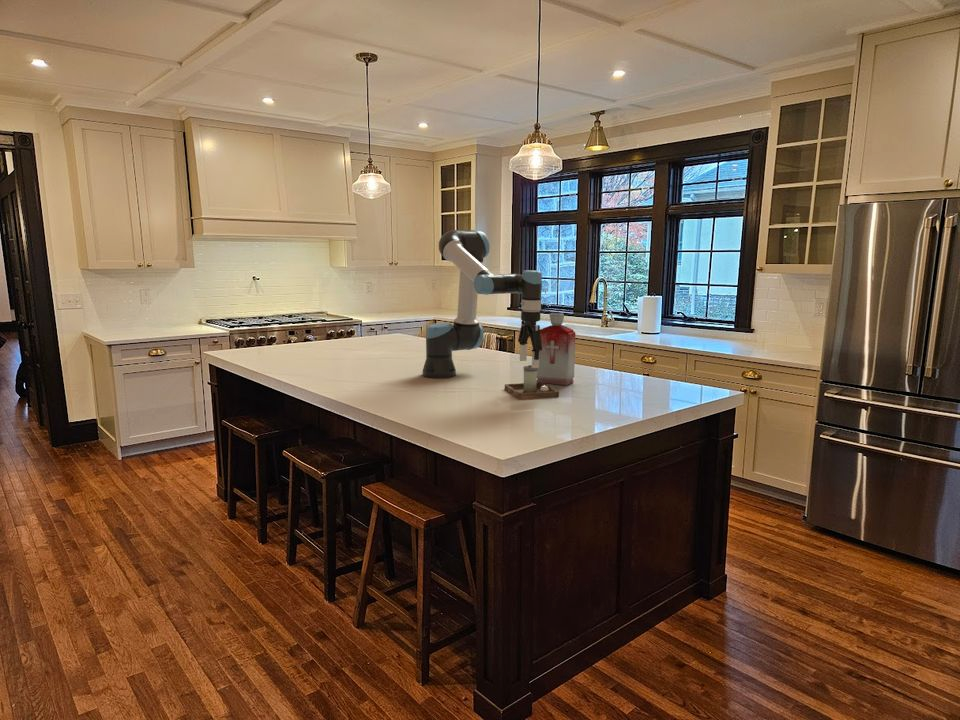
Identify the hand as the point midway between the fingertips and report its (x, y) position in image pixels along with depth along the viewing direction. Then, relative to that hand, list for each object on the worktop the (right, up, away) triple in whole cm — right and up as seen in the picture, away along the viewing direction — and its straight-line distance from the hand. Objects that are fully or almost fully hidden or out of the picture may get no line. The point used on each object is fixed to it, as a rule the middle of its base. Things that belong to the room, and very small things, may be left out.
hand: (528, 364), depth 246 cm
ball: (+6, -12, -2) cm, 13 cm away
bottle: (+13, -9, +21) cm, 26 cm away
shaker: (0, -11, +2) cm, 11 cm away
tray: (+1, -12, +1) cm, 12 cm away
